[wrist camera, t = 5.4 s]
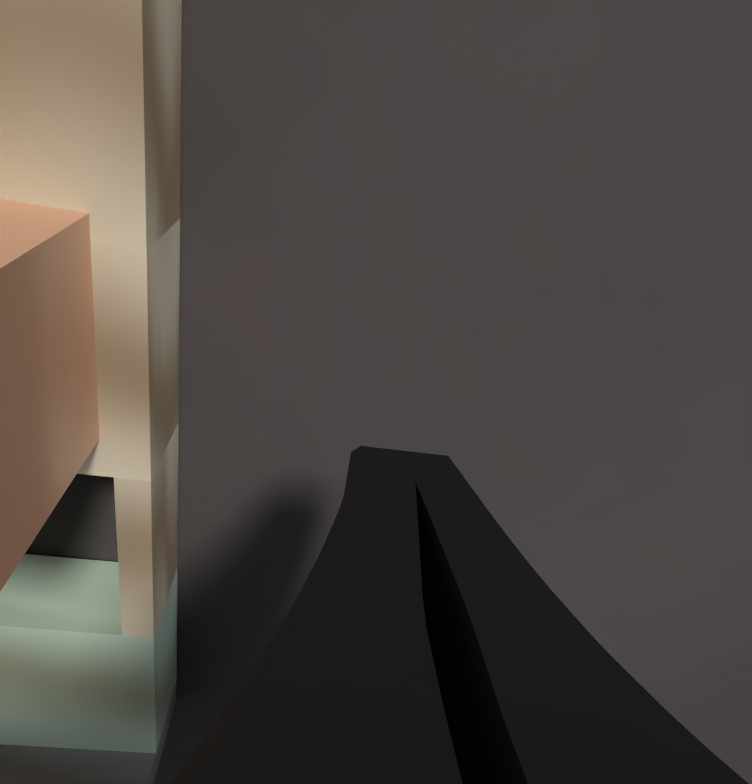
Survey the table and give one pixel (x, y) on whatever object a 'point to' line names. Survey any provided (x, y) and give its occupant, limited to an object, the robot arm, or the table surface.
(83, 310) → the block
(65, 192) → the trap board
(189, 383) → the table surface
